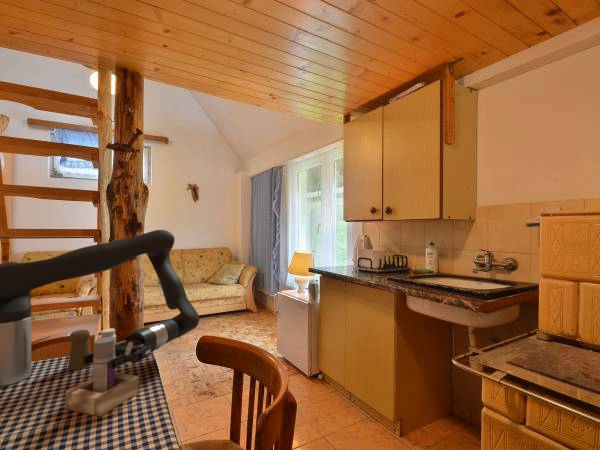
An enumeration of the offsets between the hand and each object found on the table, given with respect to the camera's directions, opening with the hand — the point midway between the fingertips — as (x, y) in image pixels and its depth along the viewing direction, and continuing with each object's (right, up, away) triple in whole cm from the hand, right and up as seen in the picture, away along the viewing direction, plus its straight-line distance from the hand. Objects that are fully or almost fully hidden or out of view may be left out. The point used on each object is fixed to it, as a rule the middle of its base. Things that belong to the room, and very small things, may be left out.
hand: (97, 363), depth 75 cm
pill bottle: (-15, -10, +29) cm, 34 cm away
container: (+1, -10, +2) cm, 10 cm away
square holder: (+1, -10, +2) cm, 10 cm away
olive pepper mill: (-19, -10, +20) cm, 30 cm away
